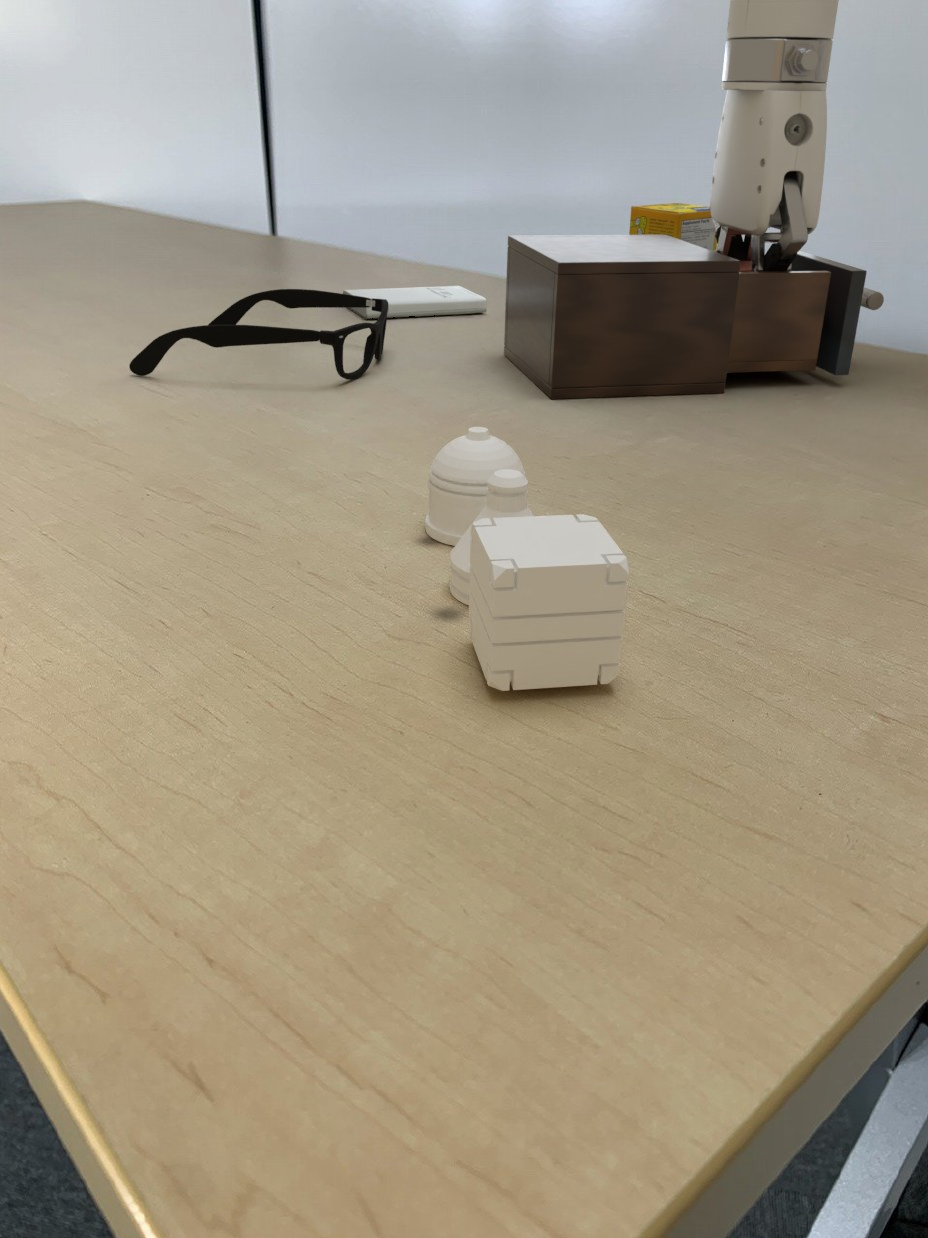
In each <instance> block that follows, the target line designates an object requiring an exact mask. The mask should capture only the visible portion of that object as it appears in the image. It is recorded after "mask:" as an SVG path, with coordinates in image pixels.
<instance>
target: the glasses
mask: <svg viewBox="0 0 928 1238" xmlns="http://www.w3.org/2000/svg"><path fill="white" fill-rule="evenodd" d="M263 301H270V302H274V303H276V304H279V305H281V306H283V307H285V308H286V309H291V310H292V309H305V308H307V309H308V308H309V309H310V308H311V309H312V308H313V309H315V308H319V309H320V308H321V309H322V308H323V309H325V308H328V309H331V308H335V309H336V308H342V309H343V308H346V309H347V308H348V309H349V308H368V307H371V306H372V311H378V312H381V314H380V316H379V318H377V320H376V321H375V322H358V323H355V324H351V325H349V326H345V327H342V328H339V329H336V330H323V329H322V330H320V331H319V330H314V329H307V328H305V329H304V328H294V327H293V328H291V327H279V326H267V325H253V324H252V325H251V324H238V323H239V322H240V320H242V318H243V317H244V316H245V315H246V314H247V313H248V312H249V311H250V310H251V309H252V308H253V307H254V306H256V304H258V303H260V302H263ZM387 313H388V301H387V300H386V299H374V298H372V299H370V298H366V297H360V296H354V295H347V294H343V293H340V292H333V291H325V290H317V289H304V288H280V289H271V290H265V291H259V292H256V293H253V294H250V295H247V296H245V297H243V298H241V299H239V300H237V301H236V302H234V303H232V304H231V305H230V306H229V307H228V308H227V309H225V310H224V311H223V312H221V313H220V314H219V315H217V316H216V317H215V318H214V319H213V320H211V322H209V323H208V324H206V325H205V324H204V325H197V326H196V325H194V326H188V327H184V328H178V329H175V330H171V331H168V332H166V333H164V334H161V335H160V336H157V337H156V338H155V339H153V340H152V341H151V342H150V343H148V345H146V347H144V348H143V349H142V350H140V352H139V353H138V354H136V356H135V357H133V358H132V360H131V361H130V363H129V365H128V366H129V371H131V373H133V374H134V375H136V376H140V377H144V376H148V375H150V374H151V373H154V371H155V369H156V368H157V367H158V365H159V364H160V362H161V361H162V360H163V359H164V357H165V355H167V353H168V351H170V349H171V348H172V347H173V346H174V345H175V344H176V343H177V342H179V341H180V340H183V339H191V340H196V341H198V342H200V343H203V344H205V345H207V346H209V347H212V348H216V349H217V348H225V347H241V346H258V345H260V346H261V345H277V344H279V345H280V344H295V343H311V342H319V343H320V344H321V345H326V346H331V347H332V349H333V359H334V365H335V370H336V373H337V374H338V375H339V377H341V378H343V379H344V380H348V381H350V380H351V381H353V380H357V379H359V378H360V377H362V376H363V375H364V374H365V373H366V372H367V371H368V369H369V368H370V365H371V364H372V361H373V359H375V360H377V361H381V360H382V357H383V353H384V346H385V337H386V331H387V330H386V329H387V321H388V318H387ZM366 329H369V330H370V334H369V335H368V336H366V340H365V345H364V350H363V359H362V363H361V366H360V367H359V368H357V369H356V370H354V371H351V372H345V368H344V345H345V340H346V339H347V338H348V336H349V335H351V334H352V333H355V332H358V331H362V330H366Z"/></svg>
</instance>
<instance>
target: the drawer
mask: <svg viewBox="0 0 928 1238" xmlns="http://www.w3.org/2000/svg"><path fill="white" fill-rule="evenodd" d="M711 251H714V252H716V250H711ZM867 272H868V271H867V270H866V269H862V268H860V267H855V266H852V265H849V264H845V263H842V262H839V261H836V260H832V259H828V258H826V257H822V256H818V255H816V254H812V253H810V252H805V251H802V250H799V251H798V252H797V255H796V257H795V259H794V260H793V262H792V266H791V271H774V272H739V280H738V288H737V296H736V304H735V312H734V320H733V328H732V336H731V344H730V352H729V360H728V368H727V374H733V373H760V372H761V373H763V372H764V373H765V372H795V371H797V372H798V371H799V372H800V371H816V368H819V369H821V370H823V371H825V372H827V373H830V374H831V375H833V376H849V375H850V370H851V365H852V364H851V363H852V359H853V352H854V347H855V342H856V336H857V335H856V334H857V330H858V323H859V318H860V313H861V307H863V308H865V309H868V310H871V311H877V310H879V309H880V308H881V307H882V306H883V305H884V302H885V298H884V294H883V293H882V292H879V291H876V290H874V289H870V288H867V287H865V284H866V278H867Z"/></svg>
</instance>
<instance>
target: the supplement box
mask: <svg viewBox="0 0 928 1238" xmlns="http://www.w3.org/2000/svg"><path fill="white" fill-rule="evenodd" d="M628 235H668V236H671V237H674V238H677V239H680V240H683V241H685V242H688V243H691V244H694V245H697V246H700V247H703V248H705V249H708V250H717V245H718V244H717V240H716V238H715V235H716V230H715V227H714V225H713V222H712V216H711V213H710V206H707V205H698V204H690V203H683V202H682V203H681V202H670V203H669V202H668V203H657V204H656V203H655V204H644V205H632V206H630V219H629V232H628Z"/></svg>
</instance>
